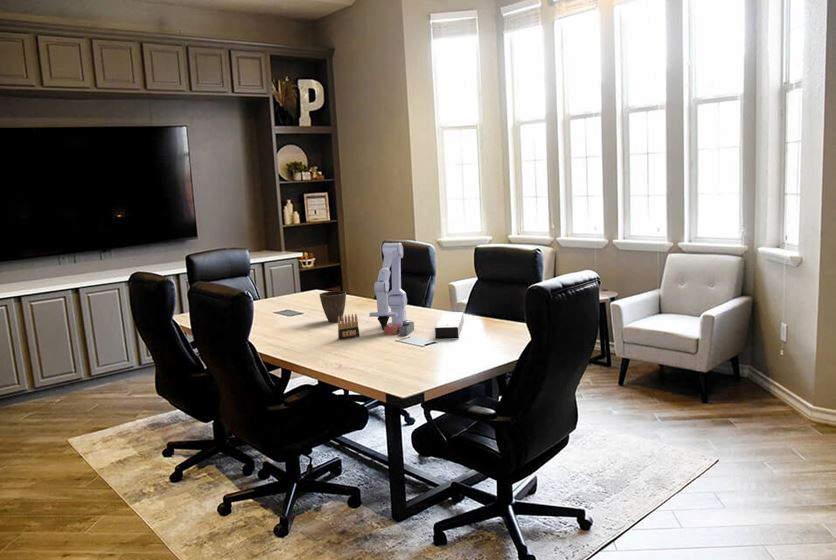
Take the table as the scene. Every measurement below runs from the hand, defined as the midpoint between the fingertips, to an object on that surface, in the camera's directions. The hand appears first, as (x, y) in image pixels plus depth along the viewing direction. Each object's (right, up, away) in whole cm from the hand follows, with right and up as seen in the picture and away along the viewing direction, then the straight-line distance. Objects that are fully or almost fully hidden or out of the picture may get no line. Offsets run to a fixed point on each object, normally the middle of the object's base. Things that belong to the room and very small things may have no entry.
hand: (384, 330), depth 351 cm
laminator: (+33, 0, -4) cm, 33 cm away
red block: (+5, -1, -1) cm, 5 cm away
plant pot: (-30, +3, +34) cm, 45 cm away
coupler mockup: (+8, -1, -2) cm, 9 cm away
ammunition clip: (-17, -3, -7) cm, 19 cm away
